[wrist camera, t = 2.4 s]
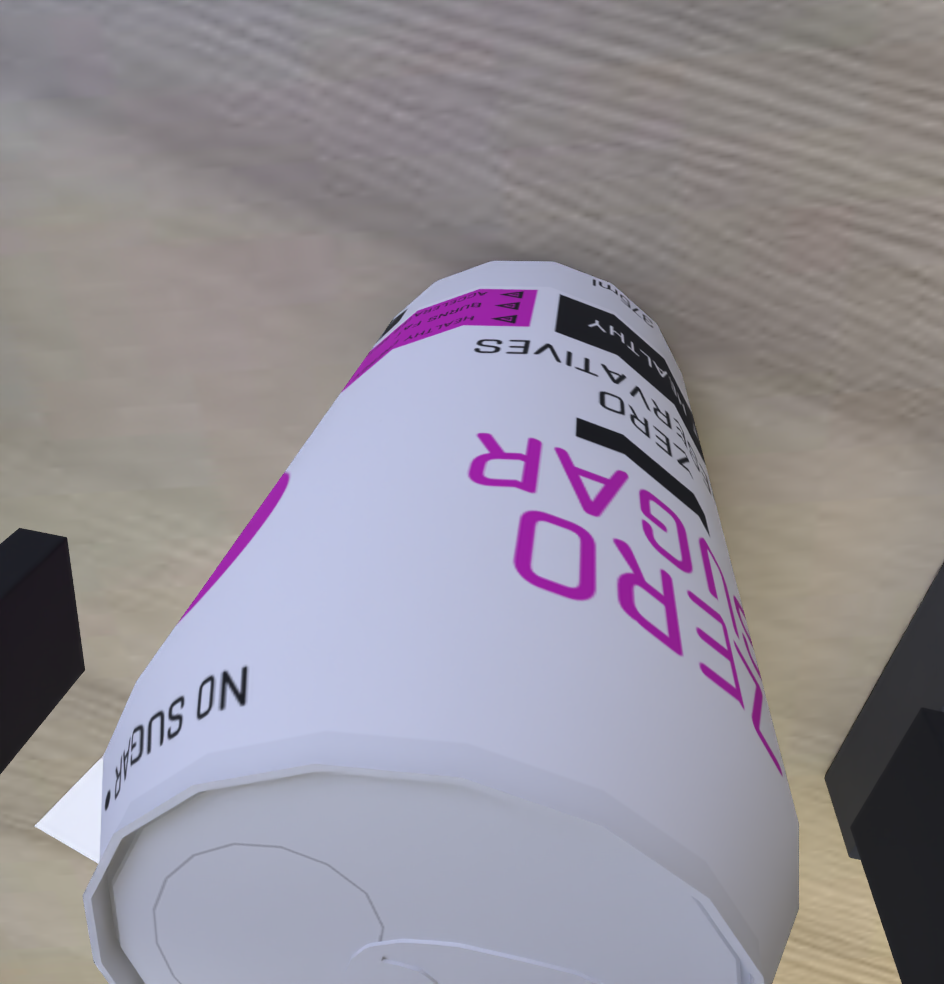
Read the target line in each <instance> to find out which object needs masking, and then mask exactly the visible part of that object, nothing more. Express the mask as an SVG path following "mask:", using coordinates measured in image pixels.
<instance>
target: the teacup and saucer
mask: <svg viewBox="0 0 944 984" xmlns="http://www.w3.org/2000/svg"><path fill="white" fill-rule="evenodd" d="M103 756H104V755H103ZM103 756H102V758H101V759H100V760H99V761H98V762H97V763H96V764H95V765H94V766H93V767H92V768H91V769H90V770H89V771H88V772H87V773H86V774H85V775H84V776H83V777H82V778H81V779H80V780H79V781H78V782H77V783H76V784H75V785H74V786H73V787H72V788H71V789H70V790H69V791H68V792H67V793H66V794H65V795H64V796H63V797H62V798H61V799H60V801H59V802H58V803H57V804H56V805H55V806H54V807H53V808H52V809H51V810H50V811H49V812H48V813H47V814H46V815H45V816H44V817H43V818H42V819H41V820H40V821H39V822H38V823H37V824H36V825H35V827H37V828H39V829H40V830H42V831H44V832H46V833H47V834H49V835H51V836H52V837H54V838H56V839H57V840H59V841H61V842H62V843H64V844H66V845H68V846H69V847H71V848H73V849H74V850H76V851H78V852H79V853H81V854H83V855H84V856H86V857H88V858H90V859H91V860H93V861H95V862H96V863H98V864H99V861H100V833H101V805H102V776H103Z"/></svg>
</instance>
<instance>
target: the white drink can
mask: <svg viewBox="0 0 944 984" xmlns="http://www.w3.org/2000/svg"><path fill="white" fill-rule="evenodd" d="M83 901H84V907H85V913H86V919H87V925H88V931H89V937H90V943H91V949H92V955H93V961H94V963H95V964H96V966H97V967H98V969H99V970H100V972H101V973H102V974H103V976H104V977H105V979H106V980H107V981H108V983H109V984H772V982H773V979H774V977H775V974H776V971H777V968H778V965H779V963H780V960H781V957H782V954H783V951H784V949H785V946H786V943H787V940H788V937H789V935H790V932H791V929H792V926H793V924H794V921H795V918H796V915H797V912H798V910H799V822H798V818H797V815H796V811H795V807H794V803H793V799H792V795H791V791H790V788H789V784H788V780H787V776H786V772H785V768H784V765H783V761H782V757H781V753H780V749H779V745H778V741H777V738H776V734H775V730H774V726H773V722H772V718H771V714H770V711H769V707H768V703H767V699H766V695H765V691H764V688H763V684H762V680H761V676H760V672H759V668H758V664H757V661H756V657H755V653H754V649H753V645H752V641H751V638H750V634H749V630H748V626H747V622H746V618H745V614H744V611H743V607H742V603H741V599H740V595H739V591H738V588H737V584H736V580H735V576H734V572H733V568H732V564H731V561H730V557H729V553H728V549H727V545H726V541H725V537H724V534H723V530H722V526H721V522H720V518H719V514H718V511H717V507H716V503H715V499H714V495H713V491H712V487H711V484H710V480H709V476H708V472H707V468H706V464H705V461H704V457H703V453H702V449H701V445H700V441H699V437H698V434H697V430H696V426H695V422H694V418H693V414H692V411H691V407H690V403H689V399H688V395H687V391H686V387H685V384H684V380H683V376H682V373H681V371H680V369H679V367H678V365H677V363H676V361H675V359H674V357H673V355H672V353H671V351H670V349H669V347H668V345H667V343H666V341H665V339H664V337H663V335H662V333H661V331H660V329H659V327H658V325H657V323H656V322H654V321H653V320H652V319H651V318H650V317H649V316H648V315H647V314H646V313H644V312H643V311H642V310H641V309H640V308H639V307H638V306H637V305H635V304H634V303H633V302H632V301H631V300H630V299H629V298H628V297H626V296H625V295H624V294H623V293H622V292H621V291H620V290H619V289H617V288H616V287H615V286H614V285H613V284H612V283H609V282H606V281H604V280H601V279H599V278H596V277H593V276H591V275H588V274H585V273H583V272H580V271H578V270H575V269H572V268H570V267H567V266H565V265H562V264H559V263H557V262H550V261H490V262H488V263H485V264H482V265H479V266H477V267H474V268H471V269H468V270H465V271H463V272H460V273H457V274H454V275H452V276H449V277H446V278H443V279H440V280H438V281H436V282H435V283H433V284H432V285H431V286H430V287H429V288H428V289H426V290H425V291H424V292H423V293H422V294H421V295H420V296H418V297H417V298H416V299H415V300H414V301H413V302H411V303H410V304H409V305H408V306H407V307H406V308H405V309H403V310H402V311H401V312H400V313H399V314H398V315H397V316H395V317H394V318H393V320H392V321H391V322H390V324H389V325H388V327H387V328H386V330H385V331H384V332H383V334H382V335H381V337H380V338H379V339H378V341H377V342H376V344H375V345H374V347H373V348H372V349H371V351H370V352H369V354H368V355H367V356H366V358H365V359H364V361H363V362H362V363H361V365H360V366H359V368H358V369H357V371H356V372H355V373H354V375H353V376H352V378H351V379H350V380H349V382H348V383H347V385H346V386H345V388H344V389H343V390H342V392H341V393H340V395H339V396H338V397H337V399H336V400H335V402H334V403H333V404H332V406H331V407H330V409H329V410H328V412H327V413H326V414H325V416H324V417H323V419H322V420H321V421H320V423H319V424H318V426H317V427H316V428H315V430H314V431H313V433H312V434H311V436H310V437H309V438H308V440H307V441H306V443H305V444H304V445H303V447H302V448H301V450H300V451H299V453H298V454H297V455H296V457H295V458H294V460H293V461H292V462H291V464H290V465H289V467H288V468H287V469H286V471H285V472H284V474H283V475H282V477H281V478H280V479H279V481H278V482H277V484H276V485H275V486H274V488H273V489H272V491H271V492H270V494H269V495H268V496H267V498H266V499H265V501H264V502H263V503H262V505H261V506H260V508H259V509H258V510H257V512H256V513H255V515H254V516H253V518H252V519H251V520H250V522H249V523H248V525H247V526H246V527H245V529H244V530H243V532H242V533H241V535H240V536H239V537H238V539H237V540H236V542H235V543H234V544H233V546H232V547H231V549H230V550H229V551H228V553H227V554H226V556H225V557H224V559H223V560H222V561H221V563H220V564H219V566H218V567H217V568H216V570H215V571H214V573H213V574H212V575H211V577H210V578H209V580H208V581H207V583H206V584H205V585H204V587H203V588H202V590H201V591H200V592H199V594H198V595H197V597H196V598H195V600H194V601H193V602H192V604H191V605H190V607H189V608H188V609H187V611H186V612H185V614H184V615H183V616H182V618H181V619H180V621H179V622H178V624H177V625H176V626H175V628H174V629H173V631H172V632H171V633H170V635H169V636H168V638H167V639H166V641H165V642H164V643H163V645H162V646H161V648H160V649H159V650H158V652H157V653H156V655H155V656H154V657H153V659H152V660H151V662H150V663H149V665H148V666H147V667H146V669H145V670H144V672H143V673H142V674H141V676H140V677H139V679H138V680H137V682H136V684H135V686H134V688H133V690H132V693H131V695H130V697H129V700H128V702H127V704H126V706H125V709H124V711H123V713H122V715H121V718H120V720H119V722H118V724H117V727H116V729H115V731H114V733H113V736H112V738H111V740H110V743H109V745H108V747H107V749H106V752H105V754H104V756H103V776H102V805H101V833H100V861H99V864H98V866H97V868H96V870H95V872H94V874H93V876H92V878H91V880H90V882H89V884H88V886H87V888H86V890H85V892H84V894H83Z"/></svg>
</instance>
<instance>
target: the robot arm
mask: <svg viewBox="0 0 944 984" xmlns="http://www.w3.org/2000/svg"><path fill="white" fill-rule="evenodd" d="M84 671H85V666H84V659H83V651H82V644H81V637H80V629H79V622H78V615H77V607H76V600H75V593H74V585H73V578H72V570H71V563H70V556H69V548H68V541H67V537H62V536H57V535H52V534H47V533H42V532H37V531H32V530H27V529H22V528H19V529H18V530H16V531H15V532H14V533H13V534H12V535H10V536H9V537H8V538H7V539H6V540H5V541H3V542H2V543H1V544H0V774H1V773H2V772H3V770H4V769H5V768H6V767H7V765H8V764H9V763H10V762H11V761H12V759H13V758H14V757H15V756H16V754H17V753H18V752H19V751H20V749H21V748H22V747H23V746H24V745H25V743H26V742H27V741H28V740H29V738H30V737H31V736H32V735H33V733H34V732H35V731H36V730H37V728H38V727H39V726H40V725H41V724H42V722H43V721H44V720H45V719H46V717H47V716H48V715H49V714H50V712H51V711H52V710H53V709H54V708H55V706H56V705H57V704H58V703H59V701H60V700H61V699H62V698H63V696H64V695H65V694H66V693H67V692H68V690H69V689H70V688H71V687H72V685H73V684H74V683H75V682H76V680H77V679H78V678H79V677H80V675H81V674H82V673H83V672H84ZM850 829H851V832H852V835H853V838H854V841H855V844H856V847H857V850H858V853H859V856H860V859H861V862H862V865H863V868H864V871H865V874H866V877H867V880H868V883H869V886H870V889H871V892H872V895H873V898H874V901H875V904H876V907H877V910H878V913H879V916H880V919H881V922H882V925H883V928H884V931H885V934H886V937H887V940H888V943H889V946H890V949H891V952H892V955H893V958H894V961H895V964H896V967H897V970H898V973H899V976H900V979H901V982H902V984H944V712H942V711H937V710H932V709H927V708H922V707H921V709H920V710H919V712H918V714H917V715H916V717H915V719H914V720H913V722H912V724H911V725H910V727H909V729H908V731H907V732H906V734H905V736H904V737H903V739H902V741H901V742H900V744H899V746H898V747H897V749H896V751H895V752H894V754H893V756H892V757H891V759H890V761H889V762H888V764H887V766H886V767H885V769H884V771H883V773H882V774H881V776H880V778H879V779H878V781H877V783H876V784H875V786H874V788H873V789H872V791H871V793H870V794H869V796H868V798H867V799H866V801H865V803H864V804H863V806H862V808H861V809H860V811H859V813H858V815H857V816H856V818H855V820H854V821H853V823H852V825H851V826H850Z"/></svg>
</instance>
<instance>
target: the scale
mask: <svg viewBox="0 0 944 984" xmlns="http://www.w3.org/2000/svg"><path fill="white" fill-rule="evenodd" d="M921 707H922V708H927V709H932V710H937V711H942V712H944V563H943V565H942V567H941V569H940V570H939V572H938V574H937V576H936V578H935V579H934V581H933V583H932V585H931V587H930V588H929V590H928V592H927V594H926V596H925V597H924V599H923V601H922V603H921V605H920V606H919V608H918V610H917V612H916V614H915V615H914V617H913V619H912V621H911V623H910V624H909V626H908V628H907V630H906V632H905V633H904V635H903V637H902V639H901V641H900V642H899V644H898V646H897V648H896V650H895V651H894V653H893V655H892V657H891V659H890V660H889V662H888V664H887V666H886V668H885V669H884V671H883V673H882V675H881V677H880V678H879V680H878V682H877V684H876V686H875V687H874V689H873V691H872V693H871V695H870V696H869V698H868V700H867V702H866V704H865V705H864V707H863V709H862V711H861V713H860V714H859V716H858V718H857V720H856V722H855V723H854V725H853V727H852V729H851V731H850V732H849V734H848V736H847V738H846V740H845V741H844V743H843V745H842V747H841V749H840V750H839V752H838V754H837V756H836V758H835V759H834V761H833V763H832V765H831V767H830V768H829V770H828V772H827V774H826V776H825V781H826V785H827V788H828V791H829V794H830V797H831V801H832V804H833V807H834V810H835V813H836V817H837V820H838V823H839V826H840V829H841V833H842V836H843V839H844V842H845V845H846V849H847V852H848V855H849V857H850V858H854V859H859V860H861V859H860V856H859V853H858V850H857V847H856V844H855V841H854V838H853V835H852V832H851V829H850V826H851V825H852V823H853V821H854V820H855V818H856V816H857V815H858V813H859V811H860V809H861V808H862V806H863V804H864V803H865V801H866V799H867V798H868V796H869V794H870V793H871V791H872V789H873V788H874V786H875V784H876V783H877V781H878V779H879V778H880V776H881V774H882V773H883V771H884V769H885V767H886V766H887V764H888V762H889V761H890V759H891V757H892V756H893V754H894V752H895V751H896V749H897V747H898V746H899V744H900V742H901V741H902V739H903V737H904V736H905V734H906V732H907V731H908V729H909V727H910V725H911V724H912V722H913V720H914V719H915V717H916V715H917V714H918V712H919V710H920V709H921Z"/></svg>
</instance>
